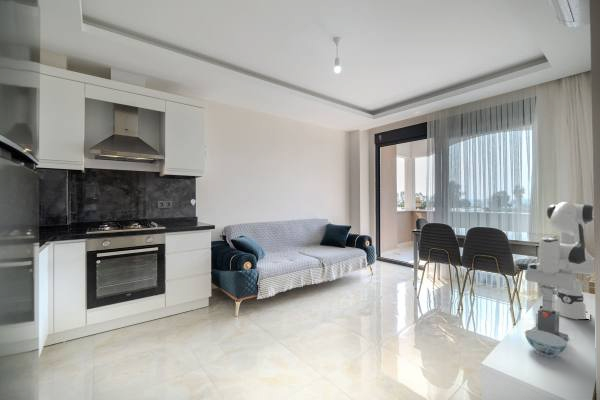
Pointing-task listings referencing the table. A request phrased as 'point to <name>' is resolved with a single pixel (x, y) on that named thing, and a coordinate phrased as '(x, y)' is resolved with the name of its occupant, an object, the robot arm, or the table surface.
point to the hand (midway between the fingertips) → (548, 292)
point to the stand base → (549, 323)
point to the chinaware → (545, 342)
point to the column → (548, 298)
